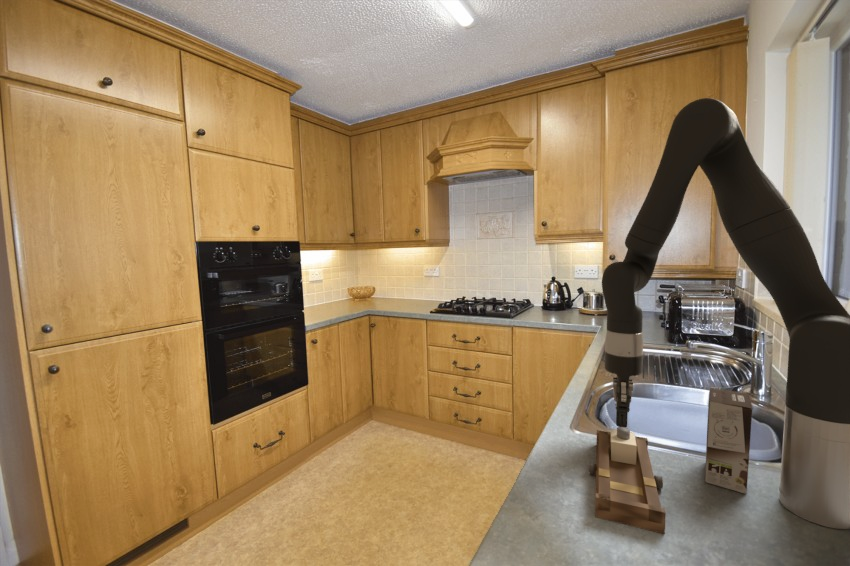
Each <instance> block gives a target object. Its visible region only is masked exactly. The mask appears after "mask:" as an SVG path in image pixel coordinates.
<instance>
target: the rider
mask: <svg viewBox="0 0 850 566" xmlns="http://www.w3.org/2000/svg"><path fill="white" fill-rule="evenodd" d="M610 432H611V439H610V451H611V461H617V462H622V463H627V464H633V465H636V452H637V445H636V439H635V436H636V435H635V432H633V431H631V430H630V429H629V428H627V427H626V428H625V427H618V426H617V428H616V429H614V428H610Z"/></svg>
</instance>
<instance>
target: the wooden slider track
mask: <svg viewBox="0 0 850 566" xmlns="http://www.w3.org/2000/svg"><path fill="white" fill-rule="evenodd" d="M610 439H611V431H604V430H598V429H596V445H595V446H596V451H595V452H596V454H595V455H596V456H595V458H596V459H595V463H591V462H589V466H588V467H589V468H588V469H589V471H588V472H589V473H588V474H589V475H594V476H595V499H594V500H595V501H594V502H595V503H594V504H595V505H594V506H595V509H594V510H595V511H594V517H595V518H598V519H602V520H606V521H610V522H615V523H619V524H623V525H626V526H631V527H635V528H640V529H642V530H643V529H644V530H647V531H651V532H656V533H659V534H664V535H665V534H666V517H667V516H666V510H665V509H666V508H665V507H662V505H661V502H660V497H659V492H658V489H663V488H664V487H663V486H664V483H663V482H664V481H663V476H660V475H656V474H655V475H654V471H653V466H652V462H651V457H650V454H649V450H648V444H649V439H648V438H647V437H642V436H637V435H635V439H636V445H637V452H636V465H633V464H627V463H622V462H617V461H611V451H610Z"/></svg>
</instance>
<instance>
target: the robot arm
mask: <svg viewBox="0 0 850 566" xmlns="http://www.w3.org/2000/svg"><path fill="white" fill-rule="evenodd" d="M699 167H700V169H701V170H702V171H703V173H704V175H705V176H706V178H707V179H708V181H709V183H710V186H711V187H712V190H713V194H714V197H715V201H716V202H715V203H716V206H717V209H718V213H719V216H720V219H721V222H722V225H723V226H724V229H725V231H726V233H727V235H728V237H729V238H730V240H731V242H732V244H733V245H734V248H735V249H736V250H737V252H738V254H739V256H740V257H741V259H742V260H743V262H744V263H745V264H746V265H747V267H748V268H749V270H750V271H751V272H752V273H753V274H754V276H755V277H756V278H757V280H759V282H760V283H761V285H762V286H763V287H764V288H765V289H766V290H767V292H768V293H769V294H770V296H771V298H772V299H773V301H774V303H775V306H776V308H777V309H778V312H779V314H780V317H781V318H782V321H783V323H784V326H785V329H786V331H787V334H788V337H789V338H788V339H789V342H788V343H789V345H788V354H787V355H788V356H787V357H788V358H787V374H786V375H787V376H786V377H787V378H786V386H785V400H784V401H785V404H784V416H783V417H784V419H783V432H782V433H783V435H782V448H781V449H782V450H781V451H782V452H781V464H780V480H779V493H778V494H779V495H778V496H779V497H778V498H779V499H778V500H779V503H781V505H782V506H783V507H784V508H785V509H786V510H787V511H790V512H791V513H793V514H795V516H798V517H799V518H802V519H804V520H806V521H808V522H812V523H814V524H817V525H820V526H823V527H826V528H832V529H839V530H849V529H850V313H849V312H848V311H847V310H846V308H845V307H844V306H843V305H842V303H841V302H840V301H839V299H838V297H836V295H835V293H833V291H832V289H831V288H830V287H829V285H828V283H827V282H826V280H825V278H824V276H823V274H822V272H821V268H820V266H819V263H818V260H817V257H816V254H815V252H814V250H813V247H812V245H811V242H810V240H809V238H808V236H807V233H806V232H805V230H804V227H803V226H802V224H801V223H800V221H799V219H798V218H797V216H796V214H795V213H794V210H793V209H792V208H791V206H790V205H789V203H788V202H787V200H786V198H785V197H784V195H782V193H781V192H780V190H779V189H778V188H777V186H776V185H775V184H774V182H773V181H772V180H771V179H770V178H769V176H768V175H767V174H766V172H764V170H763V169H762V168H761V166H760V165H759V164H758V162H757V160H756V159H755V157H754V155H753V153H752V152H751V149H750V146H749V145H748V142H747V140H746V137H745V135H744V133H743V131H742V128H741V125H740V123H739V119H738V117H737V115H736V113H735V112H734V111H733V109H732V108H729V106H728V105H726V103H724V102H722V101H721V100H718V99H716V98H711V97H705V98H699V99H695V100H692V101H691V102H689V103H687V104H686V105H685V106H683V107H682V108H681V109H680V111H678V113H677V114H676V115H675V117H674V119H673V121H672V125H671V126H670V130H669V132H668V137H667V139H666V143H665V146H664V149H663V152H662V155H661V159H660V161H659V164H658V167H657V170H656V172H655V174H654V178H653V180H652V182H651V185H650V187H649V190H648V191H647V195H646V197H645V199H644V201H643V203H642V204H641V207H640V209H639V211H638V213H637V215H636V218H635V219H634V221H633V223H632V225H631V227H630V229H629V231H628V233H627V235H626V237H625V239H624V240H625V241H624V246H625V248H626V249H627V251H626V254H625V257H624V259H623V261H615V262H612V263H610V264H608V265H607V266H606V268H605V269H604V271H603V273H602V275H601V290H602V295H603V300H604V304H605V307H606V311H607V315H606V333H605V339H604V340H605V341H604V370H605V371H606V372H608V373H609V374H612V375H613V374H614V375H616V376H613V377H612V389H613V400H614V401H615V404H614V405H615V411H616V412H615V414H616V415H615V425H616V426H617V428H618V427H625V428H627V427H628V414H629V413H630V411H631V410H630V409H631V408H630V405H631V403H632V392H633V391H634V382H633V378H631V377H636V376H639V375H641V374H642V373H643V360H644V359H643V357H644V355H643V354H644V352H643V351H644V339H643V317H644V315H643V310H642V308H641V307H640V306H639V305H637V304H636V295H635V293H636V292H639V291H641V290H643V289H644V288H645V287H646V286H647V285H648V283H649V282H650V280H651V279H652V277H653V274H654V271H655V268H656V264H657V261H658V258H659V254H660V251H661V250H662V248H663V246H664V244H665V243H666V242H667V239H668V237H669V236H670V234H671V232H672V230H673V228H674V226H675V224H676V222H677V220H678V217H679V215H680V211H681V209H682V208H681V207H682V205H683V202H684V198H685V195H686V192H687V189H688V187H689V185H690V182H691V180H692V179H693V177H694V174H695V173H696V171H697V169H698V168H699Z"/></svg>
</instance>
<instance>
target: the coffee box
mask: <svg viewBox="0 0 850 566" xmlns="http://www.w3.org/2000/svg"><path fill="white" fill-rule="evenodd" d="M708 393H709V394H708V408H707V409H708V410H707V425H706V428H707V429H706V446H705V447H706V448H705V450H706V452H705V476H704V477H705V478H704V480H705V483H707V484H711V485H713V486H716V487H717V486H718V487H721V488H724V489H728V490H731V491H735V492H737V493H741V494H747V491H748V478H749V477H748V476H749V463H750V447H751V436H752V435H751V431H752V416H753V409H754V408H753V405H752V402H751V398H750V394H749V393H745V392H741V391H734V390H727V389H726V390H725V389H718V388H714V387H713V388H711V387H709V392H708Z"/></svg>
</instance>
